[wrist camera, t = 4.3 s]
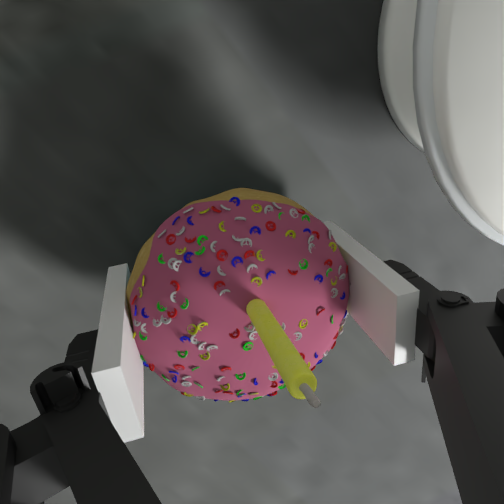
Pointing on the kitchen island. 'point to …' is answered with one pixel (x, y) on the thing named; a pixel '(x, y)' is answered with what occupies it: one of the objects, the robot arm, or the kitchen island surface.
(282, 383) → the cupcake
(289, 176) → the kitchen island surface
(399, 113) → the cake stand
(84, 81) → the kitchen island surface
